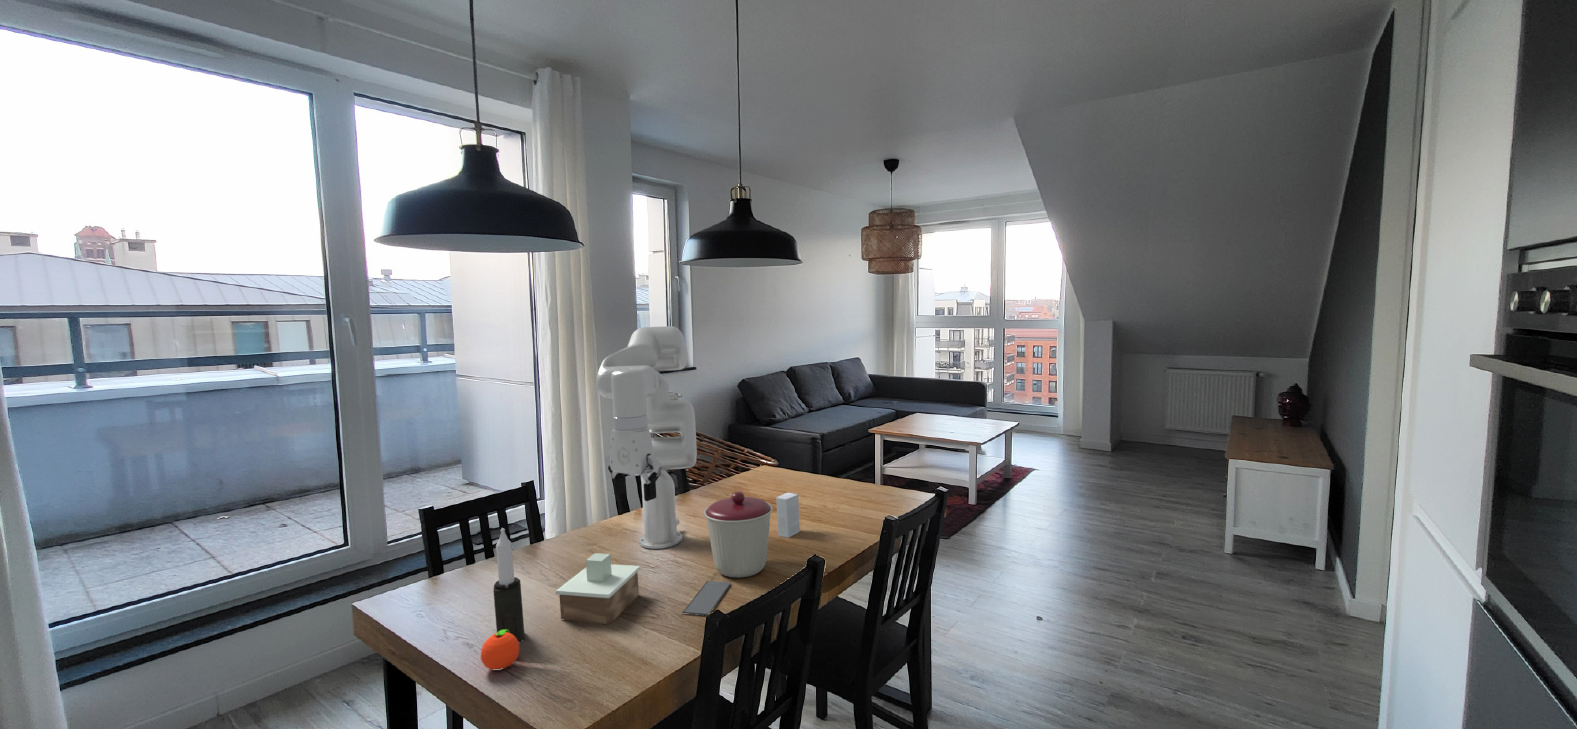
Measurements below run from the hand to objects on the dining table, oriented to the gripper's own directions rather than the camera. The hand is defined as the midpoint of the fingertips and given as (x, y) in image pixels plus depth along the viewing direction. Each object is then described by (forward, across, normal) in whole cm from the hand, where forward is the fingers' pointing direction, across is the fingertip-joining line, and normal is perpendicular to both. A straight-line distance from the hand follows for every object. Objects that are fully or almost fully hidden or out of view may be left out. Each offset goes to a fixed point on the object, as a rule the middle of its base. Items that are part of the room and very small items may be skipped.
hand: (635, 496), depth 141 cm
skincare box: (+27, +6, +56) cm, 62 cm away
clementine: (+27, -7, -30) cm, 41 cm away
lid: (+21, -8, -5) cm, 23 cm away
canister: (+27, +8, +28) cm, 40 cm away
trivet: (+27, +6, +9) cm, 29 cm away
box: (+27, -8, -5) cm, 28 cm away
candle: (+27, -14, -24) cm, 39 cm away
